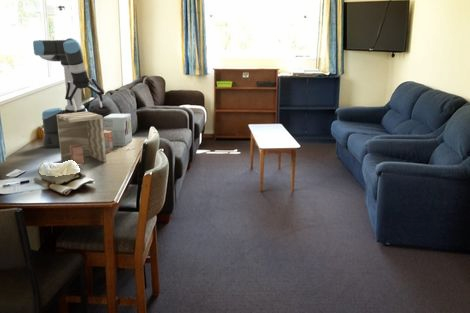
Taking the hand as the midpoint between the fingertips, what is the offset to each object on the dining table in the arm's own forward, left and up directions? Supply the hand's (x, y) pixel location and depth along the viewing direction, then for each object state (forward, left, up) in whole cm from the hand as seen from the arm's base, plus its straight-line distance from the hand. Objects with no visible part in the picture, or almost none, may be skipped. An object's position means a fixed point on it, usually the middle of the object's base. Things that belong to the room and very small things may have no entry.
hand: (88, 108), depth 248 cm
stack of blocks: (-22, +10, -29) cm, 38 cm away
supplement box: (-32, +31, -29) cm, 54 cm away
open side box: (-3, -5, -29) cm, 29 cm away
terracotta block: (+1, -9, -29) cm, 30 cm away
